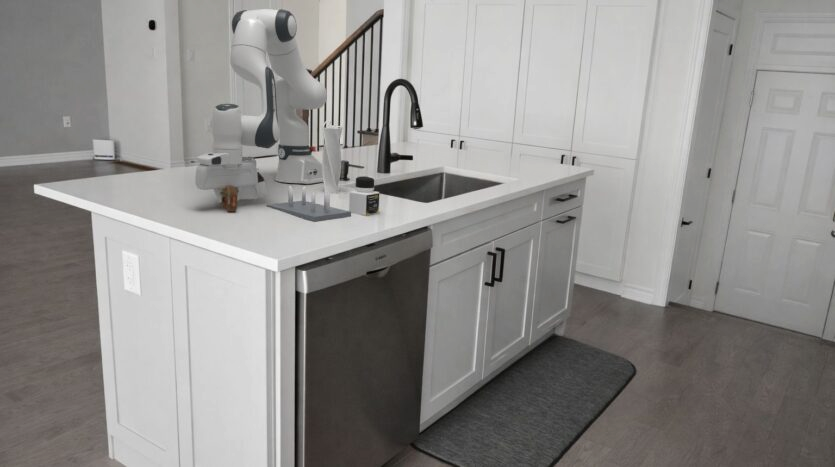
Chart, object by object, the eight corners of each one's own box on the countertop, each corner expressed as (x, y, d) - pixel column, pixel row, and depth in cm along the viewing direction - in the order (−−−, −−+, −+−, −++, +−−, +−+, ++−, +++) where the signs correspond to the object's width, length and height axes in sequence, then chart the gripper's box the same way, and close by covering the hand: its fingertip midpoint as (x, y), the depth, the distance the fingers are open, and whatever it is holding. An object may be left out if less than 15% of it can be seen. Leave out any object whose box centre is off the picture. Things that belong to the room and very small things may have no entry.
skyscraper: (318, 195, 235) (319, 119, 230) (337, 195, 238) (339, 120, 232) (323, 199, 228) (325, 121, 222) (343, 198, 231) (345, 121, 225)
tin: (218, 206, 203) (217, 181, 201) (228, 206, 205) (227, 180, 203) (228, 215, 190) (228, 188, 188) (239, 215, 192) (238, 187, 190)
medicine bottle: (366, 216, 201) (367, 179, 199) (348, 213, 205) (349, 176, 202) (379, 213, 207) (380, 177, 205) (361, 210, 211) (362, 174, 208)
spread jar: (256, 198, 223) (256, 165, 221) (273, 203, 215) (273, 169, 213) (225, 200, 215) (224, 166, 212) (242, 206, 207) (241, 170, 204)
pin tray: (302, 204, 215) (303, 183, 213) (351, 216, 199) (351, 193, 198) (266, 209, 203) (266, 186, 202) (314, 221, 188) (314, 197, 187)
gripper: (250, 155, 204) (250, 197, 207) (192, 157, 188) (193, 203, 191) (261, 157, 200) (261, 200, 203) (203, 159, 184) (204, 206, 187)
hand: (228, 201), depth 197 cm, fingers closed on tin, 3 cm apart
